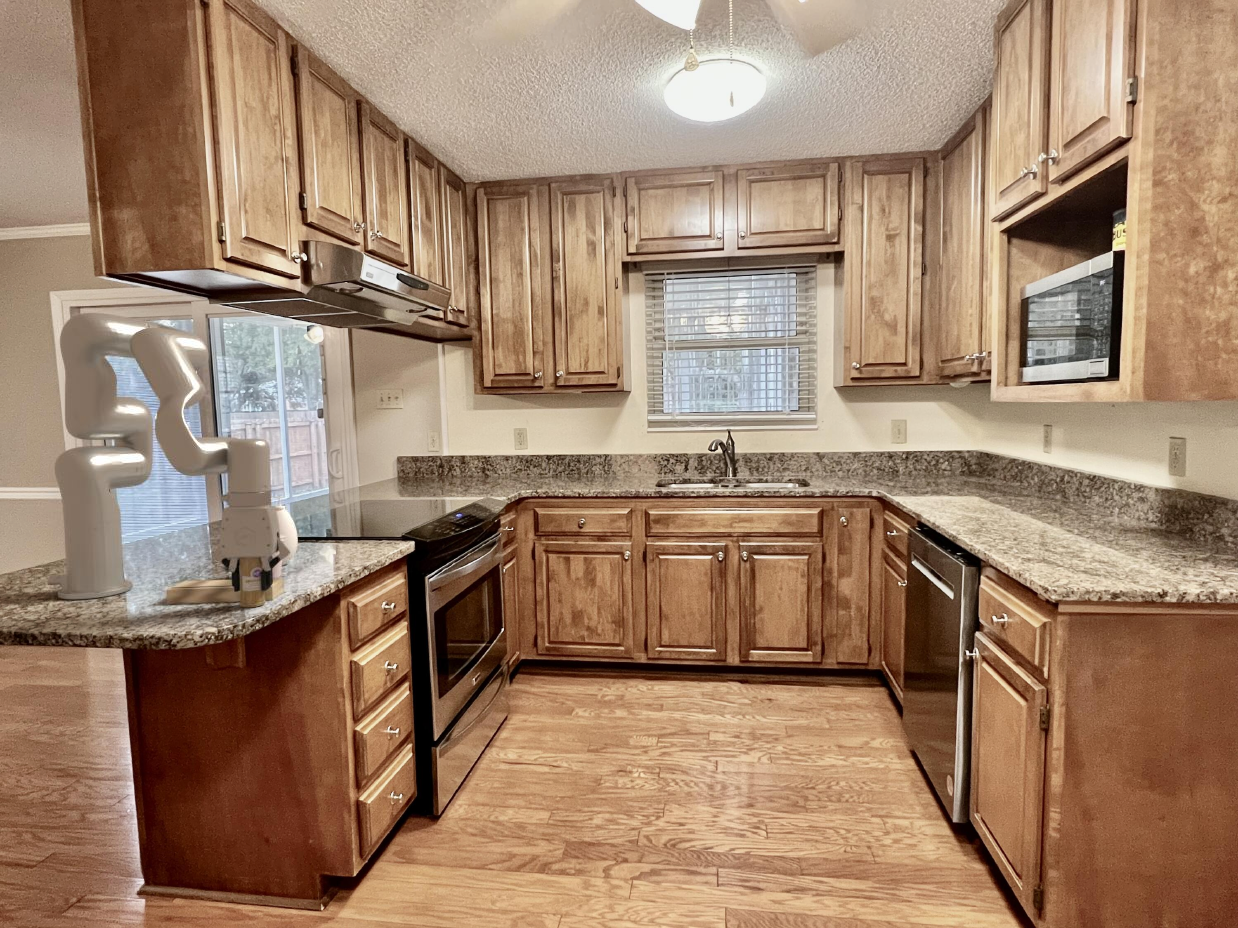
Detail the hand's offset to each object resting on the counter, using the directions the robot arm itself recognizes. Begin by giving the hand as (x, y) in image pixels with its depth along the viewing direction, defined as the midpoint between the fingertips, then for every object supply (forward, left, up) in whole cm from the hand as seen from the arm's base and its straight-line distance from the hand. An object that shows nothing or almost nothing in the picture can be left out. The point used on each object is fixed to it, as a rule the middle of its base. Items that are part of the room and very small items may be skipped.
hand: (252, 588), depth 131 cm
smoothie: (-5, +25, -4) cm, 26 cm away
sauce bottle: (-7, +38, -4) cm, 39 cm away
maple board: (-7, +7, -3) cm, 11 cm away
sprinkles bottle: (0, 0, -4) cm, 4 cm away
